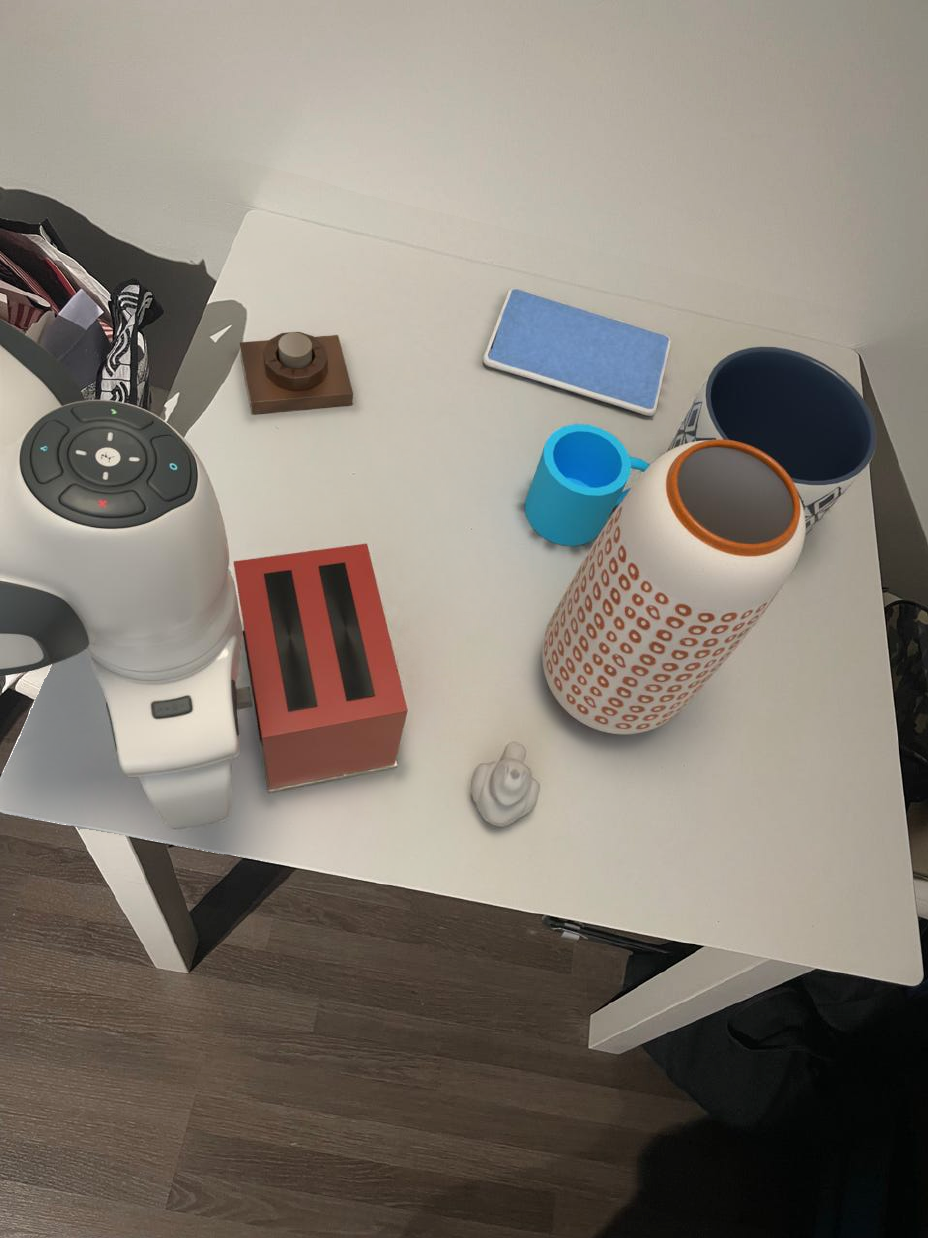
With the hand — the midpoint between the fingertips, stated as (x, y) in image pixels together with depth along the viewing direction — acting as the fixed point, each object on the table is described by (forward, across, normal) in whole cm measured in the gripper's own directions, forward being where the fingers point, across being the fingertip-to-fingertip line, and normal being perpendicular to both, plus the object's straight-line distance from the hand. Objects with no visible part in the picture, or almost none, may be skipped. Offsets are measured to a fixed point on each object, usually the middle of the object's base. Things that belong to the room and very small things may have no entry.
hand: (193, 712), depth 63 cm
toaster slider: (+1, 0, +2) cm, 2 cm away
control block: (+7, -37, +14) cm, 40 cm away
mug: (+7, -17, +39) cm, 43 cm away
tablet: (+7, -37, +45) cm, 58 cm away
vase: (+7, +1, +34) cm, 35 cm away
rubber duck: (+7, +9, +22) cm, 25 cm away
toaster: (+7, -2, +10) cm, 12 cm away
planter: (+7, -15, +54) cm, 56 cm away
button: (+3, -37, +14) cm, 40 cm away
